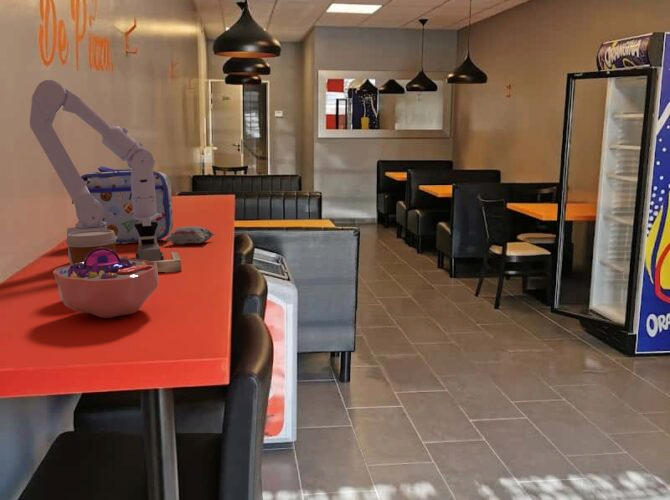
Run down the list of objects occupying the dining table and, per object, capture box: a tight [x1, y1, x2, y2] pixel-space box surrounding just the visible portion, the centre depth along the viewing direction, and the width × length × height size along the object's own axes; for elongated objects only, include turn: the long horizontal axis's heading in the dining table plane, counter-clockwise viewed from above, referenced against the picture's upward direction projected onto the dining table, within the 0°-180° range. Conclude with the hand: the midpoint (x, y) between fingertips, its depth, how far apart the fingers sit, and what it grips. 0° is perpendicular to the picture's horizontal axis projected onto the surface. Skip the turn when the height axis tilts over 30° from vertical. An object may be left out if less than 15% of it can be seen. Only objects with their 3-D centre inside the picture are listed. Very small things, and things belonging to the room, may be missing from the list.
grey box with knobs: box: [135, 236, 165, 261], centre depth 173 cm, size 6×9×5 cm
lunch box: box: [71, 166, 174, 245], centre depth 203 cm, size 28×10×22 cm, turn 92°
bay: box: [120, 251, 183, 273], centre depth 162 cm, size 13×12×2 cm
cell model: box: [52, 248, 160, 319], centre depth 121 cm, size 17×20×11 cm
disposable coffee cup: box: [65, 230, 117, 264], centre depth 138 cm, size 10×10×12 cm
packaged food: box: [163, 226, 215, 246], centre depth 197 cm, size 9×12×5 cm
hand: (148, 251), depth 179 cm, fingers closed
